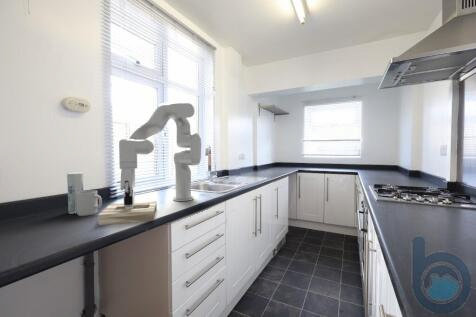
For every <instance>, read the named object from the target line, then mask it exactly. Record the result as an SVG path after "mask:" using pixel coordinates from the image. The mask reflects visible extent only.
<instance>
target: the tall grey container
mask: <svg viewBox="0 0 476 317" xmlns="http://www.w3.org/2000/svg"><path fill="white" fill-rule="evenodd" d="M66 179H67V202H68V203H67V205H68V207H67V208H68V214H71V215H72V214H74V213H75V214H77V192H80V191H84V173H83V172H80V171H79V172H76V171H75V172H68V173H66Z"/></svg>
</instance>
